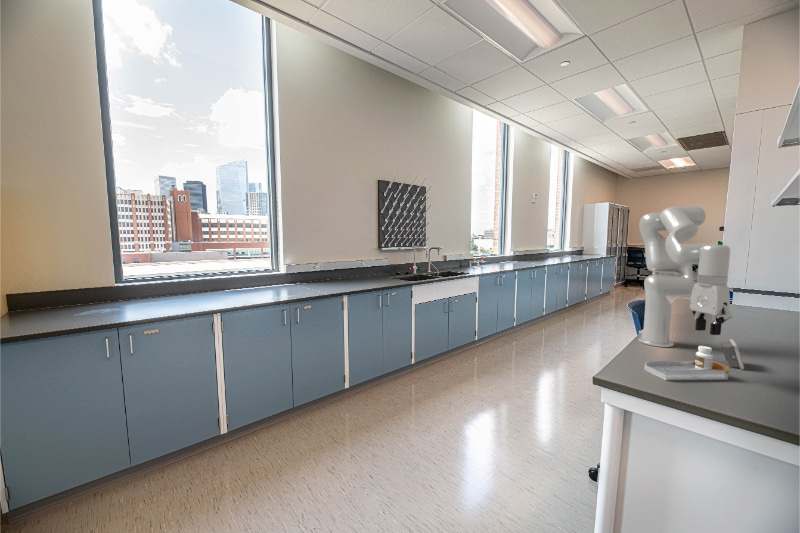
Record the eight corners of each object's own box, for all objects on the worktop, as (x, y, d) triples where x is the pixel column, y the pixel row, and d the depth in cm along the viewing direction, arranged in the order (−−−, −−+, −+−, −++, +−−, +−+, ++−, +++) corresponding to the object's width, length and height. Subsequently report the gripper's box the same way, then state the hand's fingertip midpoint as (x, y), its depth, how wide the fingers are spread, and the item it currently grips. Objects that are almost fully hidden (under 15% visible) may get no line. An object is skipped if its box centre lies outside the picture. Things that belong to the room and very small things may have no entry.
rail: (644, 369, 119) (645, 357, 118) (702, 369, 119) (703, 357, 119) (665, 380, 110) (666, 367, 109) (727, 379, 111) (729, 366, 110)
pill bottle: (691, 365, 117) (693, 345, 117) (704, 366, 117) (706, 345, 116) (701, 370, 113) (703, 349, 112) (715, 371, 112) (717, 349, 112)
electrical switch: (744, 370, 118) (743, 345, 118) (724, 368, 122) (723, 343, 121) (739, 363, 126) (738, 339, 125) (721, 361, 129) (719, 338, 129)
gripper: (679, 277, 120) (675, 326, 122) (726, 284, 103) (721, 340, 105) (699, 277, 121) (695, 325, 122) (749, 284, 104) (744, 339, 105)
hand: (707, 331), depth 114 cm, fingers open, 4 cm apart
